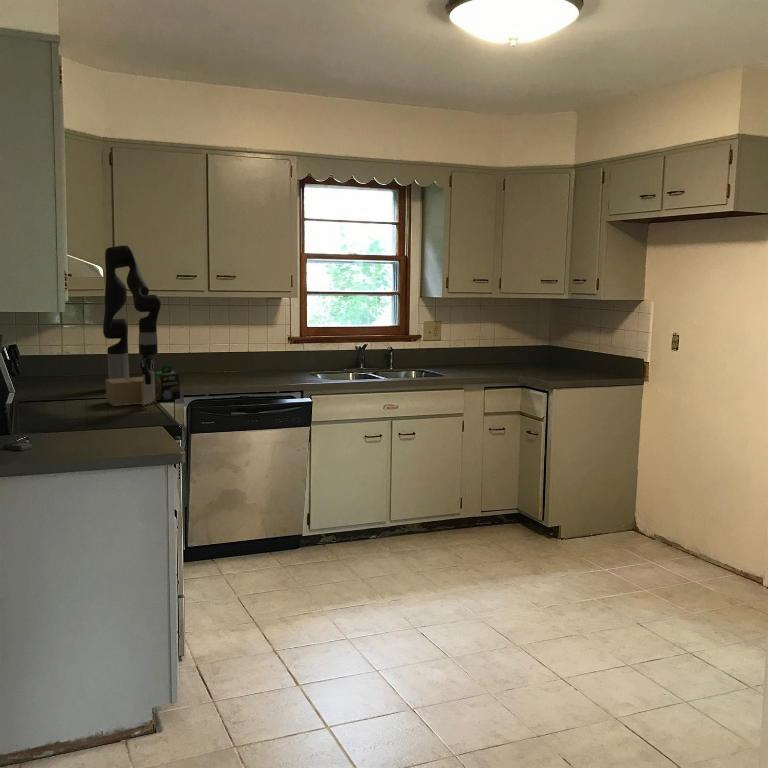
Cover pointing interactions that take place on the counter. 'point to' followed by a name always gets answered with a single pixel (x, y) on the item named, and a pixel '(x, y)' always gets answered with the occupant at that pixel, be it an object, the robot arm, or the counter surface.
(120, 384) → the carton
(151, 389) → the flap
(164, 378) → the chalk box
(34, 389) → the counter surface
